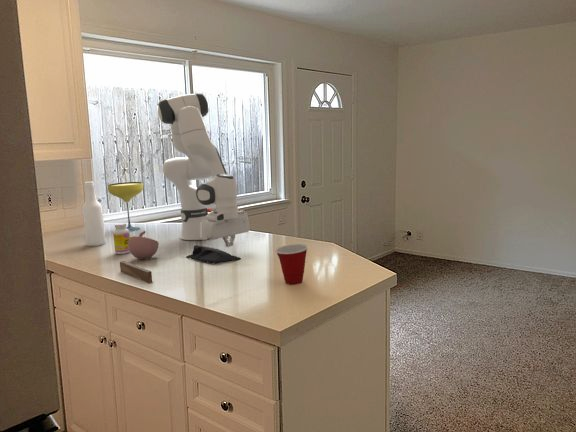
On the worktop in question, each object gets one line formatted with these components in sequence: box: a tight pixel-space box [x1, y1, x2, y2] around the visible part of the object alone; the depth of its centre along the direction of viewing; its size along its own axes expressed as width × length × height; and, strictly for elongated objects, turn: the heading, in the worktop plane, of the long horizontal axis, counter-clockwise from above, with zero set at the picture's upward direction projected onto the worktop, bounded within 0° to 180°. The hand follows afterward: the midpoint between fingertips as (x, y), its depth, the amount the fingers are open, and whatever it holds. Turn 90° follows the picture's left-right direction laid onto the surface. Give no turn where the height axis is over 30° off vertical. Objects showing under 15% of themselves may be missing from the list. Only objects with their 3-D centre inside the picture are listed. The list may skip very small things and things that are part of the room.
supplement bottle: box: [112, 222, 131, 255], centre depth 215 cm, size 7×7×13 cm
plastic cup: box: [275, 243, 309, 286], centre depth 162 cm, size 11×11×12 cm
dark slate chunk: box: [185, 244, 242, 265], centre depth 199 cm, size 15×22×5 cm
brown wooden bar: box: [119, 260, 153, 284], centre depth 177 cm, size 2×22×4 cm, turn 43°
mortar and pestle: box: [128, 230, 160, 260], centre depth 203 cm, size 12×12×11 cm
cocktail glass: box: [107, 181, 144, 232], centre depth 266 cm, size 18×18×25 cm
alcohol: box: [81, 180, 107, 247], centre depth 232 cm, size 9×9×30 cm
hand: (229, 246), depth 205 cm, fingers closed
